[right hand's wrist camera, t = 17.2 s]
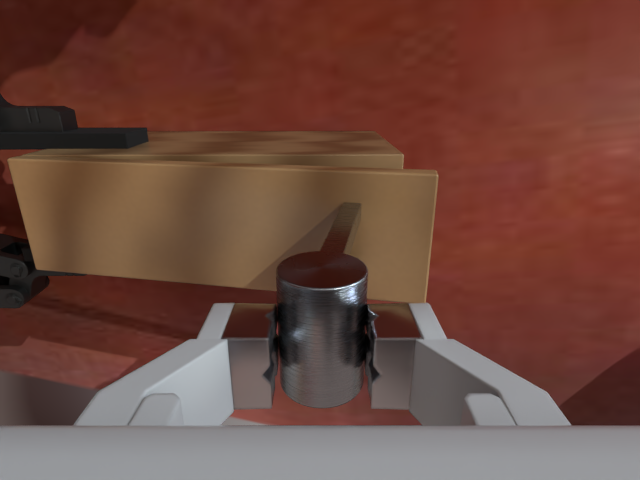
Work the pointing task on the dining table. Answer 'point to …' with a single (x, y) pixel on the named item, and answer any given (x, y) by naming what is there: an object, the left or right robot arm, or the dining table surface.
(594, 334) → the dining table surface
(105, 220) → the lid
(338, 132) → the brown wooden rectangular box
